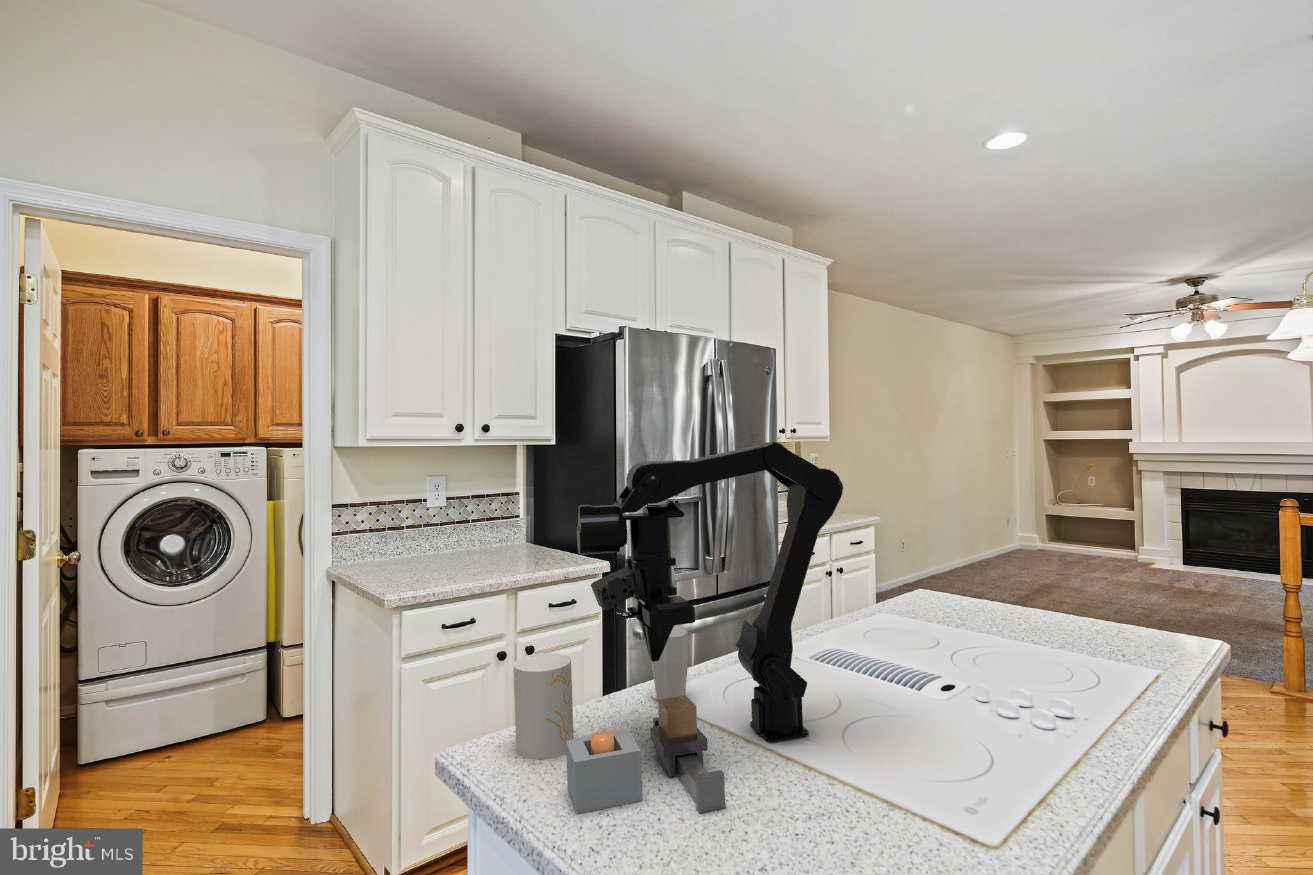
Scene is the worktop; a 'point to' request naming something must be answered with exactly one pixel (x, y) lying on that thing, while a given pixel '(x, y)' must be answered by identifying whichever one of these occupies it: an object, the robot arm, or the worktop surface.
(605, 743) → the button
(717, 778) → the rail
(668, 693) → the low poly bottle
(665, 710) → the carriage
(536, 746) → the cup
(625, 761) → the grey hollow block
